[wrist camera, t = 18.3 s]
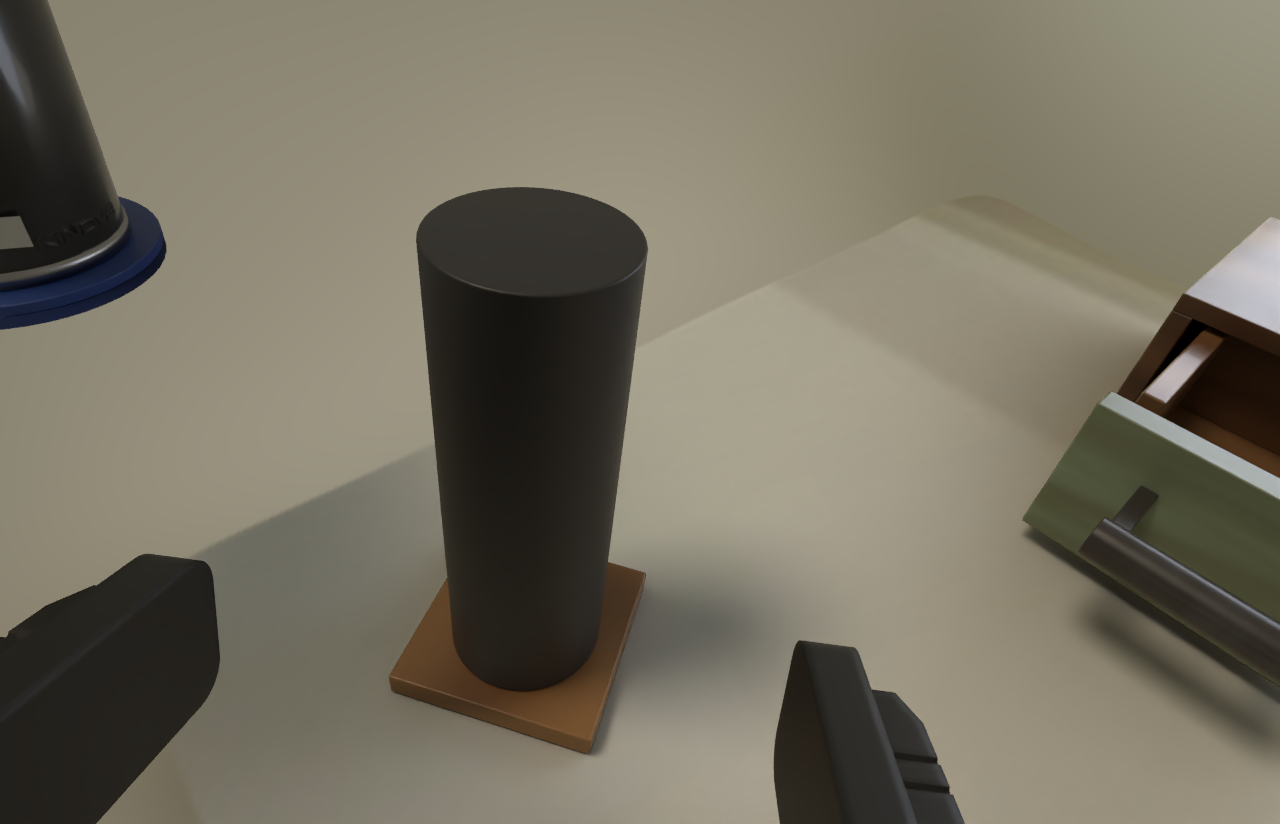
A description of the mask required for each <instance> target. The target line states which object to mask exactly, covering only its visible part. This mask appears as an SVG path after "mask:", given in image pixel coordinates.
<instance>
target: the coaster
mask: <svg viewBox="0 0 1280 824" xmlns="http://www.w3.org/2000/svg"><path fill="white" fill-rule="evenodd" d="M645 578H646V573H644V572H640V571H637V570H633V569H630V568H626V567H623V566H619V565H616V564H612V563H609V562H608V564H607V572H606V580H605V588H604V595H603V603H602V611H601V619H600V627H599V634H598V639H597V642H596V645H595V648H594V650H593V652H592V654H591V655H590V657H589V658H588V660H587V661H586V662H585V664H584V665H583V666H582V667H581V668H580V669H579V670H578V671H577V672H576V673H574V674H573V675H572V676H570V677H569V678H567V679H566V680H564V681H562V682H560V683H558V684H556V685H553V686H550V687H547V688H543V689H539V690H532V691H514V690H506V689H503V688H499V687H496V686H493V685H491V684H488V683H487V682H485V681H483V680H481V679H480V678H478V677H477V676H476V675H474V674H473V673H472V672H471V671H470V670H469V669H468V668H467V667H466V666H465V665H464V663H463V662H462V660H461V659H460V657H459V655H458V653H457V651H456V648H455V645H454V640H453V634H452V623H451V612H450V601H449V590H448V579H446V581H445V582H444V584H443V586H442V587H441V589H440V591H439V592H438V594H437V596H436V597H435V599H434V601H433V603H432V604H431V606H430V608H429V609H428V611H427V613H426V614H425V616H424V618H423V620H422V621H421V623H420V625H419V626H418V628H417V630H416V631H415V633H414V635H413V636H412V638H411V640H410V642H409V643H408V645H407V647H406V648H405V650H404V652H403V653H402V655H401V657H400V658H399V660H398V662H397V664H396V665H395V667H394V669H393V670H392V672H391V674H390V675H389V680H390V685H391V690H392V691H394V692H397V693H400V694H403V695H406V696H409V697H412V698H416V699H419V700H422V701H425V702H428V703H431V704H434V705H437V706H440V707H443V708H447V709H450V710H453V711H456V712H459V713H462V714H465V715H468V716H471V717H474V718H477V719H481V720H484V721H487V722H490V723H493V724H496V725H499V726H502V727H505V728H508V729H512V730H515V731H518V732H521V733H524V734H527V735H530V736H533V737H536V738H539V739H542V740H546V741H549V742H552V743H555V744H558V745H561V746H564V747H567V748H570V749H573V750H577V751H580V752H583V753H586V754H589V753H590V751H591V748H592V745H593V742H594V739H595V736H596V732H597V729H598V726H599V723H600V720H601V717H602V714H603V711H604V708H605V705H606V702H607V699H608V696H609V693H610V690H611V686H612V683H613V680H614V677H615V674H616V671H617V668H618V665H619V662H620V659H621V656H622V653H623V650H624V647H625V644H626V640H627V637H628V634H629V631H630V628H631V625H632V622H633V619H634V616H635V613H636V610H637V607H638V604H639V601H640V598H641V594H642V591H643V588H644V584H645Z"/></svg>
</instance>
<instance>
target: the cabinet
mask: <svg viewBox="0 0 1280 824" xmlns="http://www.w3.org/2000/svg"><path fill="white" fill-rule="evenodd" d="M1207 326H1211V327H1213V328H1215V329H1217V330H1220V331H1222V332H1224V333H1226V334H1229V335H1231V336H1233V337H1235V338H1238V339H1240V340H1242V341H1244V342H1247V343H1249V344H1251V345H1253V346H1256V347H1258V348H1260V349H1263V350H1265V351H1267V352H1269V353H1272V354H1274V355H1276V356H1278V357H1280V220H1279V219H1276V218H1273V217H1270V218H1268V219H1267V220H1266V221H1265V222H1264V223H1263V224H1262V225H1261V226H1259V227H1258V228H1257V229H1256V230H1255V231H1254V232H1253V233H1251V234H1250V235H1249V236H1248V237H1247V238H1246V239H1245V240H1244V241H1242V242H1241V243H1240V244H1239V245H1238V246H1237V247H1236V248H1235V249H1233V250H1232V251H1231V252H1230V253H1229V254H1228V255H1226V256H1225V257H1224V258H1223V259H1222V260H1221V261H1220V262H1218V263H1217V264H1216V265H1215V266H1214V267H1213V268H1212V269H1211V270H1209V271H1208V272H1207V273H1206V274H1205V275H1204V276H1203V277H1201V278H1200V279H1199V280H1198V281H1197V282H1196V283H1195V284H1194V285H1192V286H1191V287H1190V288H1189V289H1188V290H1187V291H1186V292H1184V293H1183V294H1182V296H1181V297H1180V299H1179V300H1178V302H1177V303H1176V305H1175V306H1174V308H1173V310H1172V311H1171V313H1170V314H1169V316H1168V317H1167V319H1166V320H1165V322H1164V323H1163V325H1162V326H1161V328H1160V329H1159V331H1158V332H1157V334H1156V335H1155V337H1154V338H1153V340H1152V341H1151V343H1150V344H1149V346H1148V347H1147V349H1146V350H1145V352H1144V353H1143V355H1142V356H1141V358H1140V359H1139V361H1138V362H1137V364H1136V365H1135V367H1134V368H1133V370H1132V371H1131V373H1130V374H1129V376H1128V377H1127V379H1126V380H1125V382H1124V383H1123V385H1122V386H1121V388H1120V389H1119V391H1118V392H1117V394H1118V395H1120V396H1122V397H1124V398H1126V399H1128V400H1129V401H1131V402H1133V403H1135V402H1136V400H1137V399H1138V398H1139V396H1140V395H1141V393H1142V392H1143V391H1144V390H1145V389H1146V388H1147V387H1148V386H1149V385H1150V384H1151V383H1152V382H1153V381H1154V380H1155V379H1156V378H1157V377H1158V376H1159V375H1160V374H1161V373H1162V372H1163V371H1164V370H1165V369H1166V368H1167V367H1168V366H1169V365H1170V364H1171V363H1172V362H1173V361H1174V360H1175V359H1176V358H1177V357H1178V356H1179V355H1180V354H1181V352H1182V351H1183V350H1184V349H1185V348H1186V347H1187V346H1188V345H1189V344H1190V343H1191V342H1192V341H1193V340H1194V339H1195V338H1196V337H1197V336H1198V335H1199V334H1200V333H1201V332H1202V331H1203V330H1204V329H1205V328H1206V327H1207Z"/></svg>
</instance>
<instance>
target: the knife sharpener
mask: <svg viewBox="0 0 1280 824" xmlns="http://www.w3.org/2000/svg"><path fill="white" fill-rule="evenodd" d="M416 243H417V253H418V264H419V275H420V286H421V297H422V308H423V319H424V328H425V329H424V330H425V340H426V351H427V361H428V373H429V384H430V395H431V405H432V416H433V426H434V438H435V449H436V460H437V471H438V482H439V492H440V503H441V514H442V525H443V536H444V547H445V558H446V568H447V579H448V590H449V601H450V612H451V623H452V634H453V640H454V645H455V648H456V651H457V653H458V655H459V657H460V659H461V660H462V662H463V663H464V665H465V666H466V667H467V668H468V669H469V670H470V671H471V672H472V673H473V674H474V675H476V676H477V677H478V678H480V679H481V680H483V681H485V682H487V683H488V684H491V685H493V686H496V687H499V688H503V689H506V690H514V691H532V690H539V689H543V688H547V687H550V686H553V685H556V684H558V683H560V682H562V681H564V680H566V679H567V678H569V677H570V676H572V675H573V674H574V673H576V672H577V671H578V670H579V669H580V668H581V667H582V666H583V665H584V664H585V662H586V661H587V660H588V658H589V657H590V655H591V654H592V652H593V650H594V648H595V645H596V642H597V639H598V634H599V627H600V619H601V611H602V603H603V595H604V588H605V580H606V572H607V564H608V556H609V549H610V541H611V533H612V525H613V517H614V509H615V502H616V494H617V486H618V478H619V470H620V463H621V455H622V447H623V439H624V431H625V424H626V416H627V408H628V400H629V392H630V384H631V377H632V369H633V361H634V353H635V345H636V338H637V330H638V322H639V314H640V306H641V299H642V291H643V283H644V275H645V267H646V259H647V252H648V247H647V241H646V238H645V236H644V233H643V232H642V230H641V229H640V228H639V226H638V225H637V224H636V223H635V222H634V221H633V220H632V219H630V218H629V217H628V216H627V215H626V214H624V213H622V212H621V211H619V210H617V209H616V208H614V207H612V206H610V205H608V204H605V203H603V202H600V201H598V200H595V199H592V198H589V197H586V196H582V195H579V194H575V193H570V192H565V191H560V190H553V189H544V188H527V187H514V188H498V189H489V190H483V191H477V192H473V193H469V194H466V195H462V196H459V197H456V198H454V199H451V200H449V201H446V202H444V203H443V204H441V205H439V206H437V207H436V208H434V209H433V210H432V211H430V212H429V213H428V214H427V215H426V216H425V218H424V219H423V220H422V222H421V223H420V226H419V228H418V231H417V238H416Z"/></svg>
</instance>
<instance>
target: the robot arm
mask: <svg viewBox="0 0 1280 824" xmlns="http://www.w3.org/2000/svg"><path fill="white" fill-rule="evenodd" d="M130 235H131V225H130V222H129V220H128V217H127V214H126V211H125V209H124V207H123V206H122V205H121V204H120V201H119V198H118V196H117V193H116V190H115V187H114V184H113V182H112V179H111V176H110V173H109V171H108V168H107V165H106V162H105V159H104V157H103V153H102V150H101V147H100V145H99V142H98V139H97V136H96V134H95V131H94V128H93V125H92V122H91V120H90V117H89V114H88V111H87V109H86V106H85V103H84V100H83V97H82V95H81V92H80V89H79V86H78V83H77V81H76V78H75V75H74V72H73V70H72V67H71V64H70V61H69V58H68V56H67V53H66V50H65V47H64V45H63V42H62V39H61V36H60V34H59V31H58V28H57V25H56V22H55V20H54V17H53V14H52V12H51V9H50V6H49V3H48V1H47V0H0V291H7V290H15V289H21V288H27V287H32V286H37V285H42V284H46V283H50V282H54V281H57V280H61V279H64V278H67V277H70V276H73V275H76V274H79V273H81V272H84V271H86V270H88V269H91V268H93V267H95V266H97V265H99V264H101V263H103V262H104V261H106V260H108V259H109V258H111V257H112V256H114V255H115V254H116V253H117V252H119V251H120V250H121V249H122V248H123V247H124V246H125V244H126V243H127V242H128V240H129V238H130ZM219 663H220V651H219V640H218V628H217V617H216V606H215V594H214V583H213V575H212V571H211V569H210V567H209V565H208V564H207V563H206V562H204V561H199V560H192V559H184V558H177V557H169V556H161V555H154V554H143V555H140V556H138V557H137V558H135V559H133V560H132V561H131V562H129V563H128V564H126V565H125V566H123V567H122V568H121V569H120V570H118V571H117V572H115V573H114V574H113V575H111V576H110V577H108V578H107V579H105V580H104V581H102V582H101V583H100V584H98V585H97V586H94V585H93V586H91V587H89V588H86V589H84V590H82V591H79V592H77V593H75V594H72V595H70V596H68V597H65V598H63V599H60V600H58V601H56V602H54V603H51V604H49V605H46V606H45V607H43V608H42V609H41V610H39V611H38V612H36V613H35V614H33V615H32V616H31V617H29V618H28V619H26V620H25V621H23V622H22V623H20V624H19V625H18V626H16V627H15V628H13V629H12V630H10V631H9V633H8V636H7V637H6V638H4V637H0V824H96V823H97V822H98V821H99V820H100V819H101V817H102V816H103V815H104V814H105V813H106V812H107V811H108V810H109V809H110V807H111V806H112V805H113V804H114V803H115V802H116V801H117V800H118V798H119V797H120V796H121V795H122V794H123V793H124V792H125V791H126V790H127V788H128V787H129V786H130V785H131V784H132V783H133V782H134V781H135V780H136V778H137V777H138V776H139V775H140V774H141V773H142V772H143V771H144V769H145V768H146V767H147V766H148V765H149V764H150V763H151V762H152V760H153V759H154V758H155V757H156V756H157V755H158V754H159V752H161V750H162V749H163V748H164V747H165V746H166V745H167V744H168V743H169V742H170V740H171V739H172V738H173V737H174V736H175V735H176V734H177V733H178V731H179V730H180V729H181V728H182V727H183V726H184V725H185V724H186V723H187V721H188V720H189V719H190V718H191V717H192V716H193V715H194V714H195V712H196V711H197V710H198V709H199V708H200V707H201V706H202V704H203V703H204V702H205V700H206V699H207V697H208V696H209V694H210V692H211V690H212V688H213V686H214V683H215V680H216V677H217V674H218V669H219ZM774 782H775V791H776V798H777V805H778V812H779V820H780V824H965V823H964V820H963V818H962V816H961V813H960V811H959V808H958V806H957V804H956V801H955V799H954V796H953V795H950V792H949V788H950V787H949V784H948V782H947V780H946V777H945V775H944V772H943V770H942V767H941V765H938V764H937V755H936V753H935V751H934V748H933V746H932V743H931V741H930V739H929V736H928V734H927V731H926V729H925V727H924V724H923V723H922V722H921V721H920V720H919V718H918V717H917V716H916V715H915V714H914V713H913V712H912V711H911V710H910V709H909V707H908V706H907V705H906V704H905V703H904V702H903V701H902V700H901V699H900V698H899V696H898V695H897V694H896V693H893V692H886V691H878V690H871V687H870V684H869V681H868V678H867V676H866V673H865V670H864V667H863V664H862V661H861V658H860V655H859V653H858V651H857V649H856V648H854V647H847V646H839V645H831V644H824V643H816V642H808V641H800V640H799V641H798V642H797V644H796V646H795V648H794V652H793V656H792V660H791V665H790V670H789V675H788V679H787V684H786V689H785V694H784V699H783V703H782V708H781V713H780V718H779V722H778V727H777V732H776V739H775V748H774Z"/></svg>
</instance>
